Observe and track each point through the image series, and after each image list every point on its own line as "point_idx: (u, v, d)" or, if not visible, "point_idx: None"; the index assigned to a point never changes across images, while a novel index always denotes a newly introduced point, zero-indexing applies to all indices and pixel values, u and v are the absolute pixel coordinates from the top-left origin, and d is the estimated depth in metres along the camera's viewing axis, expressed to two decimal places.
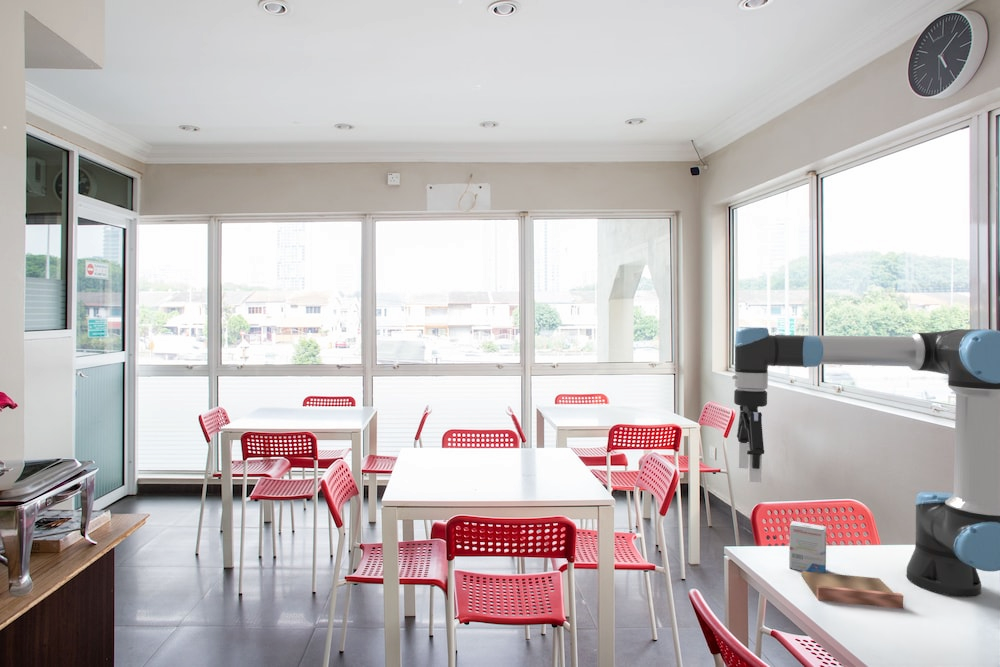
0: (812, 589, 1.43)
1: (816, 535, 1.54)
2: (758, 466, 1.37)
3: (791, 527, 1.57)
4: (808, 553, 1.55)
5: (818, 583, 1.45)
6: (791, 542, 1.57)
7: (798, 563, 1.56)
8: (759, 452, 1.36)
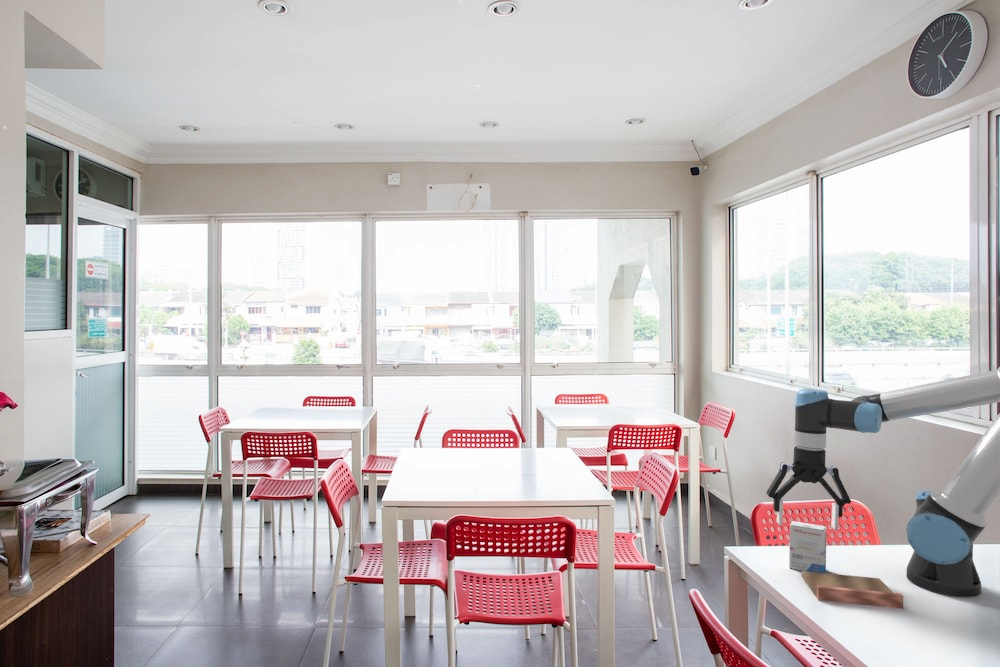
0: (812, 589, 1.43)
1: (816, 535, 1.54)
2: (774, 508, 1.59)
3: (791, 527, 1.57)
4: (808, 553, 1.55)
5: (818, 583, 1.45)
6: (791, 542, 1.57)
7: (798, 563, 1.56)
8: (767, 494, 1.59)
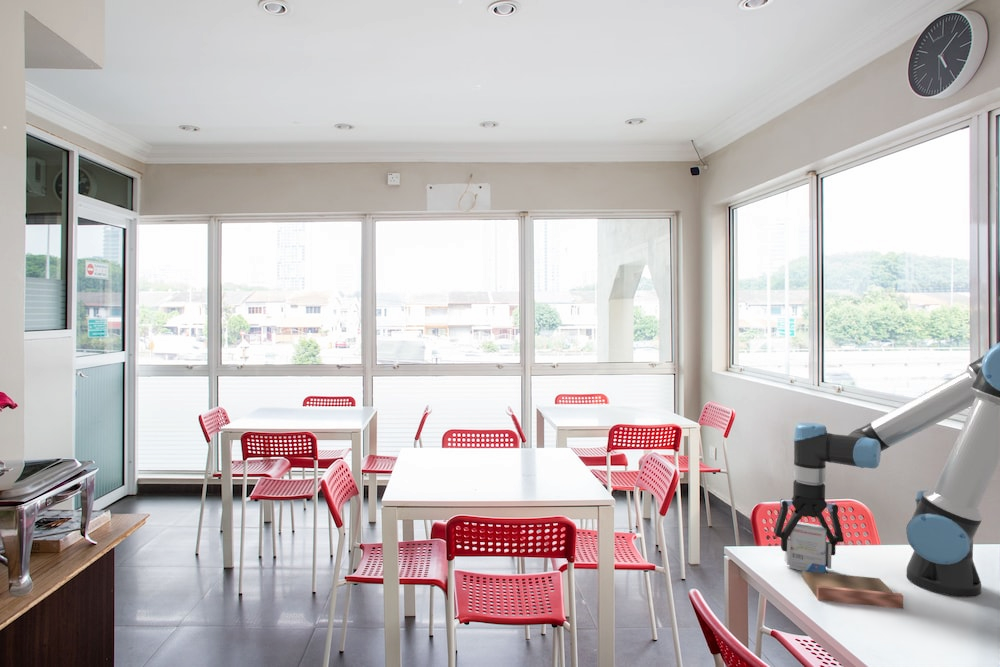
0: (812, 589, 1.43)
1: (816, 535, 1.54)
2: (781, 548, 1.58)
3: None
4: (808, 552, 1.55)
5: (818, 583, 1.45)
6: (791, 542, 1.57)
7: (798, 563, 1.56)
8: (775, 534, 1.59)
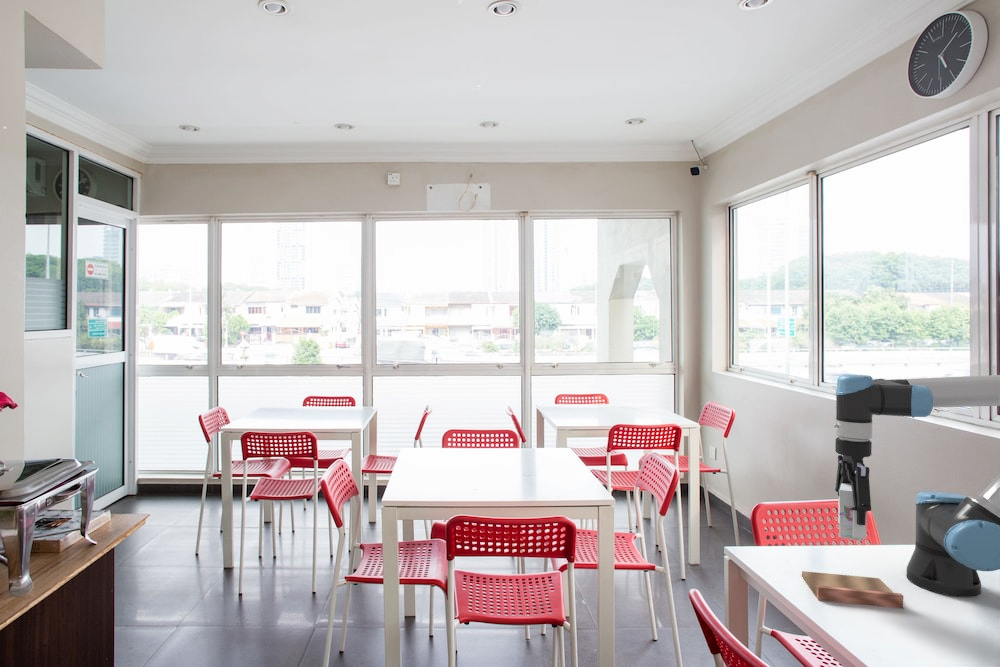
0: (812, 589, 1.43)
1: None
2: (864, 522, 1.36)
3: None
4: None
5: (818, 583, 1.45)
6: None
7: None
8: (866, 509, 1.34)
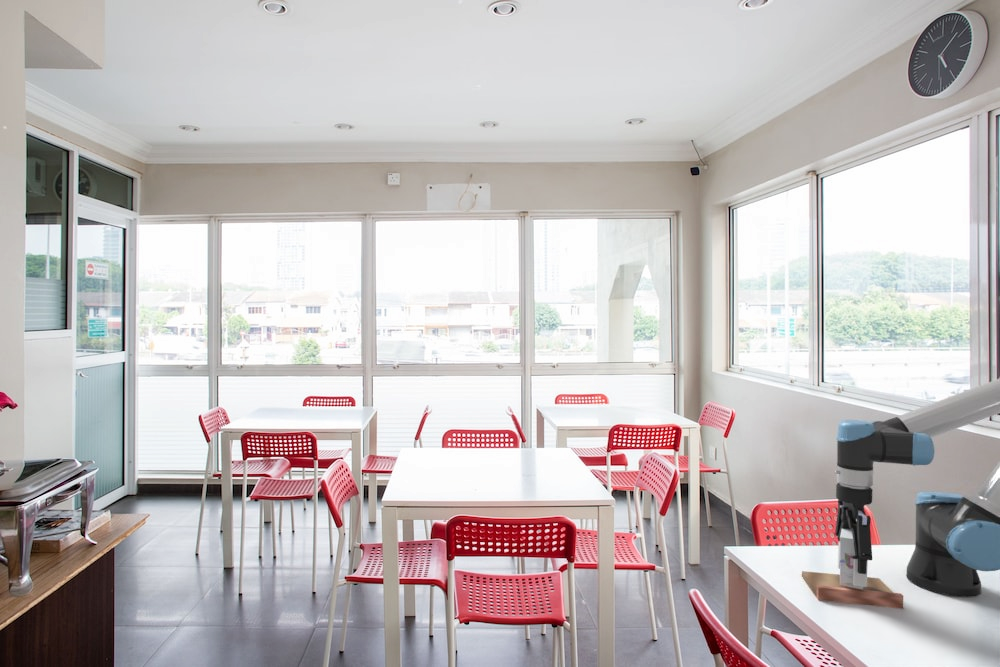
0: (812, 589, 1.43)
1: None
2: (865, 571, 1.36)
3: None
4: None
5: (818, 583, 1.45)
6: None
7: None
8: (867, 558, 1.34)
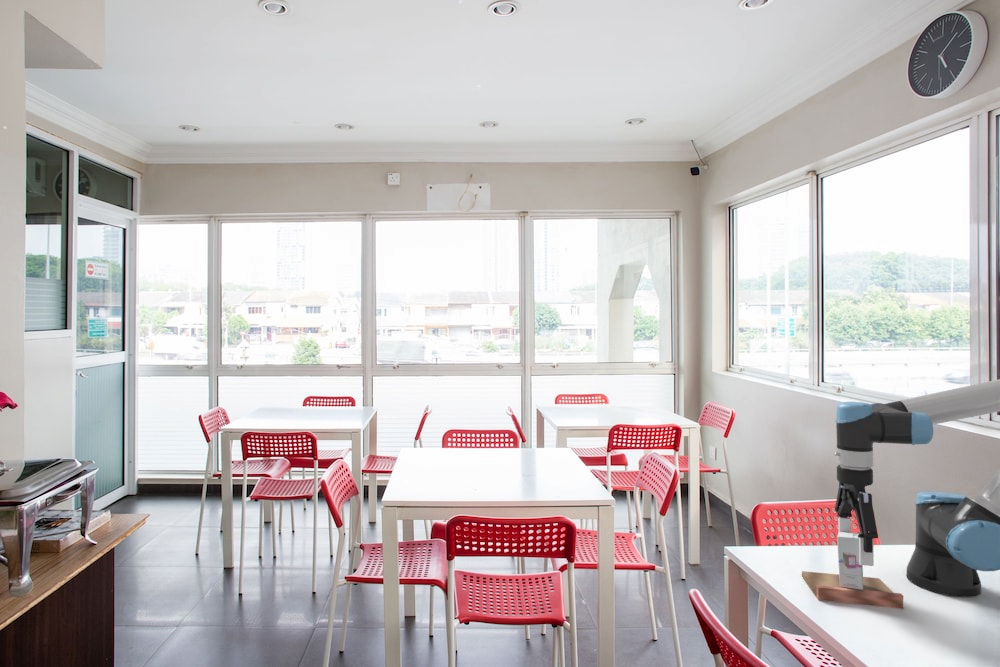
0: (812, 589, 1.43)
1: None
2: (871, 550, 1.34)
3: None
4: None
5: (818, 583, 1.45)
6: None
7: None
8: (873, 537, 1.32)
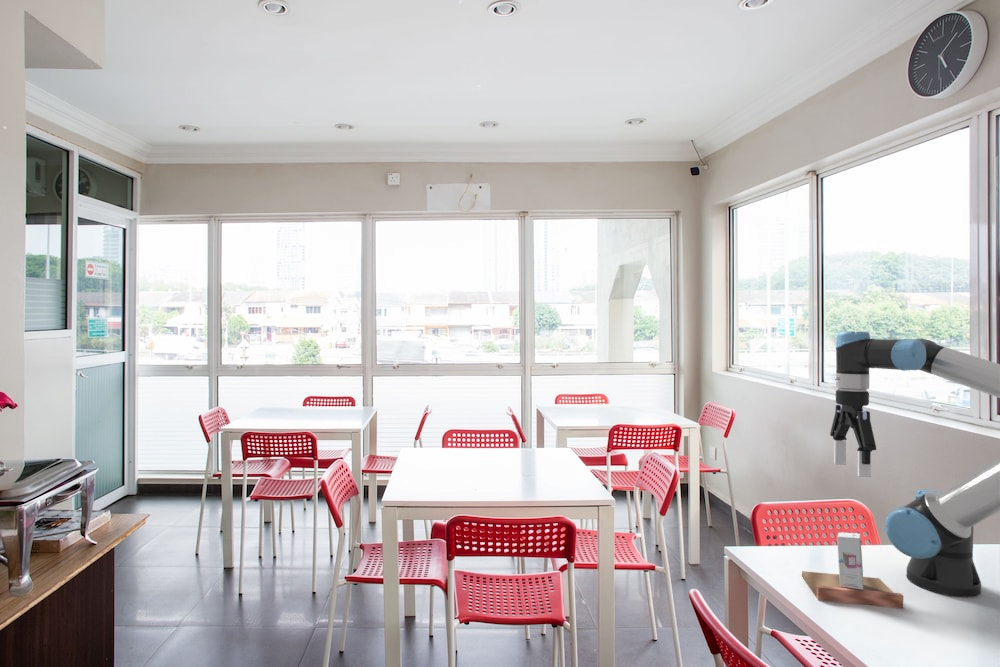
0: (812, 589, 1.43)
1: (860, 541, 1.45)
2: (869, 462, 1.46)
3: (859, 541, 1.40)
4: None
5: (818, 583, 1.45)
6: (861, 558, 1.39)
7: None
8: (871, 448, 1.44)
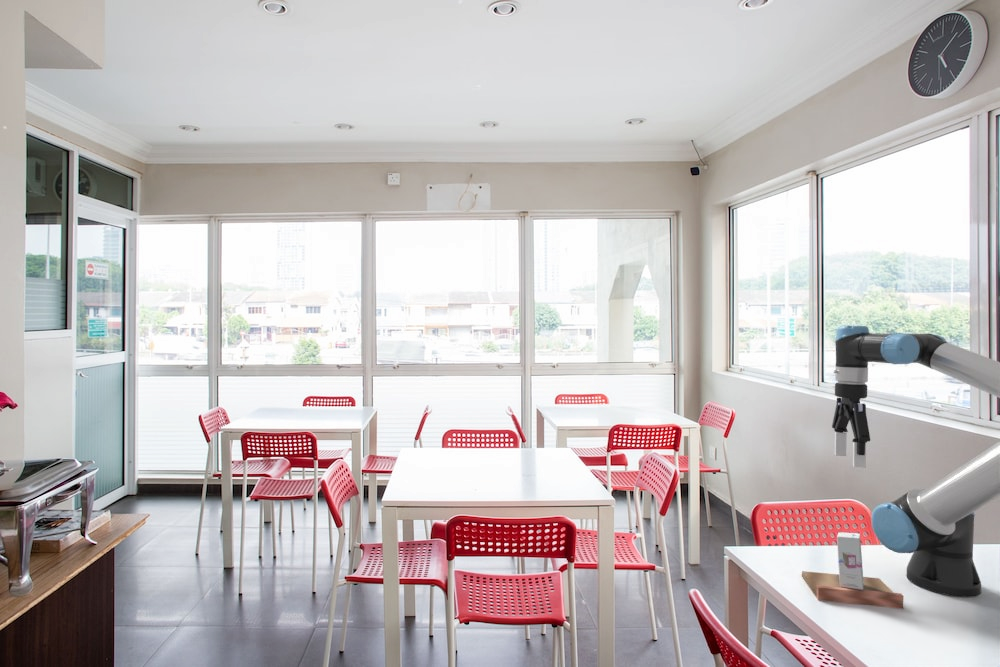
0: (812, 589, 1.43)
1: (860, 541, 1.45)
2: (863, 453, 1.50)
3: (859, 541, 1.40)
4: None
5: (818, 583, 1.45)
6: (861, 558, 1.39)
7: None
8: (865, 440, 1.48)
